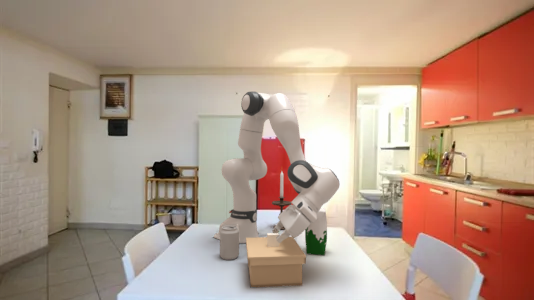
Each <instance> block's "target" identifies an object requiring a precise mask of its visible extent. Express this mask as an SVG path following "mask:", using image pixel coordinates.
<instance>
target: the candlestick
mask: <svg viewBox="0 0 534 300" xmlns="http://www.w3.org/2000/svg"><path fill="white" fill-rule="evenodd" d="M280 171H281V172H280V174H279V176H280V177H279V179H280V180H279V181H280V182H279V196H278V199H279V200H273V201H272V202H271V205H273V206H278V207H280V213H279V215H280V214H281V213H282V212H283V211H284V209H283V207H286V206H287V207H288V206H290V205H292V203H291V202H292V201H288V200H284V199H285V198H286V197H284V179H285V178H284V175H285V174H284V173H283V166H282V165H281V167H280ZM279 215H278V216H279ZM276 225H277V224H274V225H273V226H272V227H273V229H274V228H275V226H276ZM284 230H285V228H284V226H283V227H282V228H281V229H280V230H279V231H284Z"/></svg>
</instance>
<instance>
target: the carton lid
mask: <svg viewBox="0 0 534 300" xmlns="http://www.w3.org/2000/svg"><path fill="white" fill-rule="evenodd" d="M278 235H280V234H279V232H278V233H273V232H271V233H270V232H268V233H266V236H264V237H262V236H261V237H260V236H259V237H256V238H246V243H245V247H246V258H247V266H248V267H249V266H258V265H286V264H302V265H306V263H307V254H305V251H304V250H303V249H302V248H301V246H300V245H299V244H298V242H297V241H296V238H293V237H292V236H289V237H288V238H286V239H284V240H283V241H282V242H281V243H279V242H278V241H277V240H276V237H278Z"/></svg>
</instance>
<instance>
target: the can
mask: <svg viewBox="0 0 534 300" xmlns="http://www.w3.org/2000/svg"><path fill="white" fill-rule="evenodd" d="M237 228H238V227H237V226H234V225H227V226H223V227H222V230H221V231H220V239H219V257H221V259H223V260H225V261H231V260H236V259H237V258H238V257H239V255H240V243H239V230H238V229H237Z"/></svg>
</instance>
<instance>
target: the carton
mask: <svg viewBox="0 0 534 300" xmlns="http://www.w3.org/2000/svg"><path fill="white" fill-rule="evenodd" d="M248 273H249V274H248V276H249V283H250V285H249V286H250V288H251V287H256V288H273V287H275V288H276V287H296V286H297V287H298V286H299V287H300V286H301V287H302V286H303V264H286V265H258V266H248Z"/></svg>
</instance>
